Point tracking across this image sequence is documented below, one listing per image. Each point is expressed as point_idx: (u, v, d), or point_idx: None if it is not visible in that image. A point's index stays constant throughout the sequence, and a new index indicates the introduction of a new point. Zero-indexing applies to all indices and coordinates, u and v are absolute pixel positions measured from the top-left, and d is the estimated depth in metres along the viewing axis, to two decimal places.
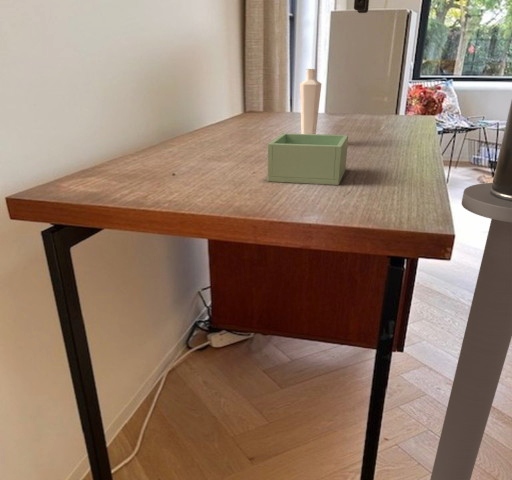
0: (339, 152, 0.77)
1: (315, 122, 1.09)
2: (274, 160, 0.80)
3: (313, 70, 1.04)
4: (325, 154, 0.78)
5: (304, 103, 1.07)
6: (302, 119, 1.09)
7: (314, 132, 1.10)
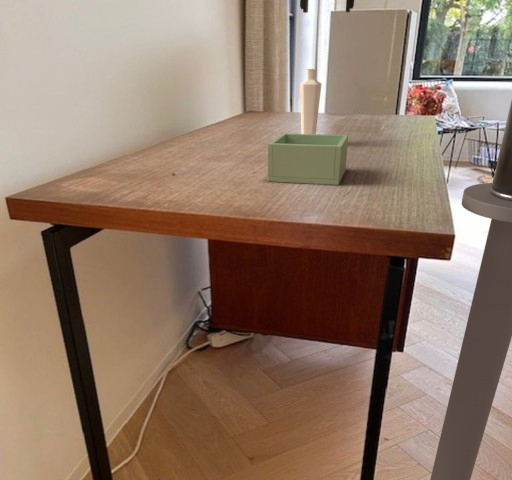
0: (339, 152, 0.77)
1: (315, 122, 1.09)
2: (274, 160, 0.80)
3: (313, 70, 1.04)
4: (325, 154, 0.78)
5: (304, 103, 1.07)
6: (302, 119, 1.09)
7: (314, 132, 1.10)
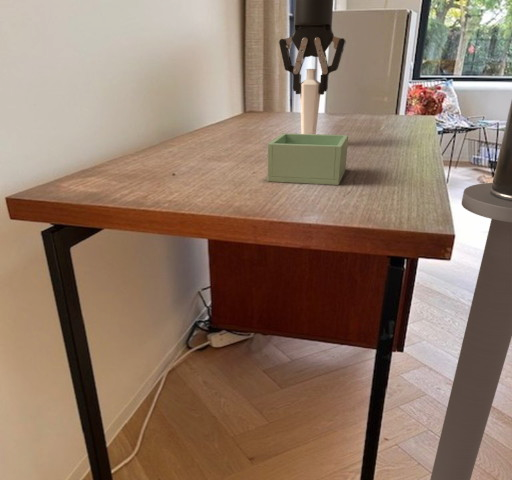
0: (339, 152, 0.77)
1: (315, 122, 1.09)
2: (274, 160, 0.80)
3: (313, 70, 1.04)
4: (325, 154, 0.78)
5: (304, 103, 1.07)
6: (302, 119, 1.09)
7: (314, 132, 1.10)
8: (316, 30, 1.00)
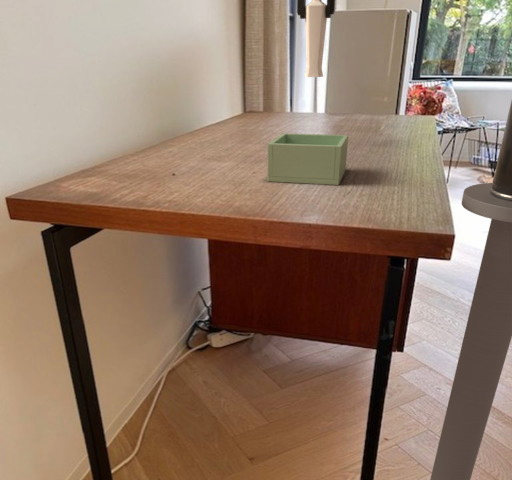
0: (339, 152, 0.77)
1: (321, 50, 1.01)
2: (274, 160, 0.80)
3: None
4: (325, 154, 0.78)
5: (309, 27, 0.98)
6: (307, 47, 1.01)
7: (320, 61, 1.02)
8: None
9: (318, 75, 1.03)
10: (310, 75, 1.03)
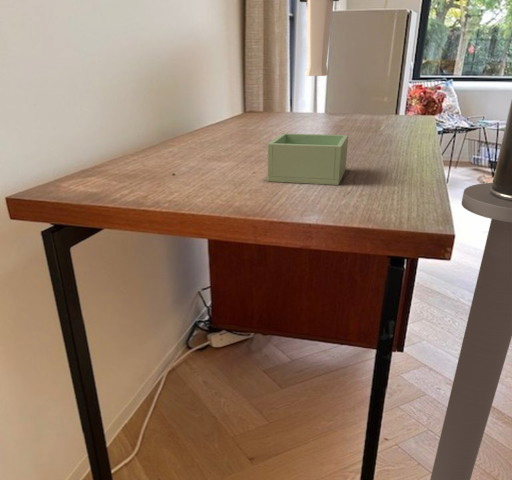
0: (339, 152, 0.77)
1: (326, 42, 0.80)
2: (274, 160, 0.80)
3: None
4: (325, 154, 0.78)
5: (311, 13, 0.77)
6: (308, 37, 0.80)
7: (325, 56, 0.81)
8: None
9: (322, 73, 0.81)
10: (312, 73, 0.82)
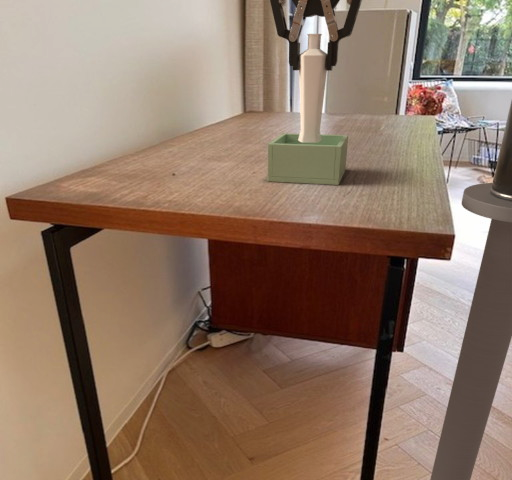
0: (339, 152, 0.77)
1: (320, 109, 0.79)
2: (274, 160, 0.80)
3: (317, 35, 0.74)
4: (325, 154, 0.78)
5: (305, 82, 0.76)
6: (302, 105, 0.79)
7: (318, 123, 0.80)
8: None
9: (315, 140, 0.81)
10: (305, 140, 0.81)
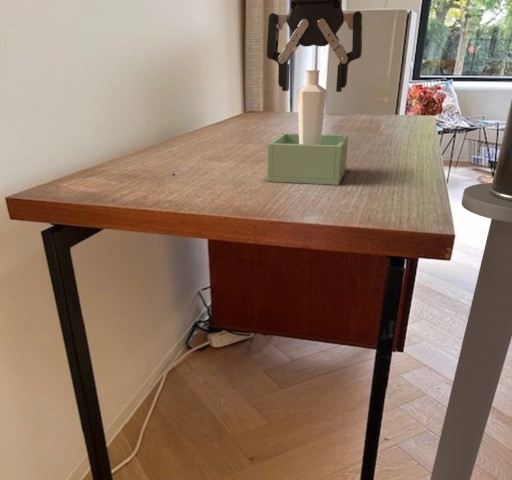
0: (339, 152, 0.77)
1: (318, 142, 0.82)
2: (274, 160, 0.80)
3: (316, 72, 0.76)
4: (325, 154, 0.78)
5: (303, 117, 0.79)
6: (301, 138, 0.81)
7: None
8: (321, 9, 0.73)
9: None
10: None
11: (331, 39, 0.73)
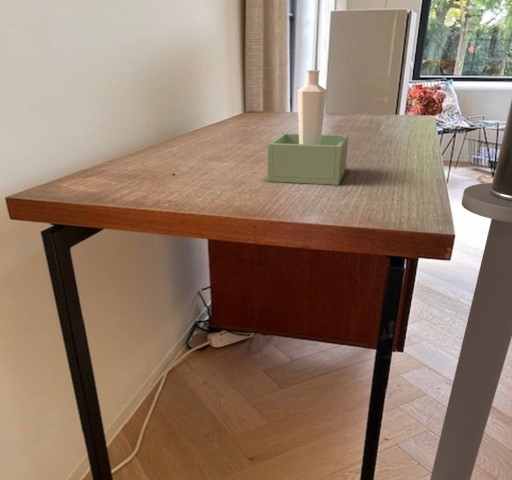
0: (339, 152, 0.77)
1: (318, 142, 0.82)
2: (274, 160, 0.80)
3: (316, 72, 0.76)
4: (325, 154, 0.78)
5: (303, 117, 0.79)
6: (301, 138, 0.81)
7: None
8: None
9: None
10: None
11: None
